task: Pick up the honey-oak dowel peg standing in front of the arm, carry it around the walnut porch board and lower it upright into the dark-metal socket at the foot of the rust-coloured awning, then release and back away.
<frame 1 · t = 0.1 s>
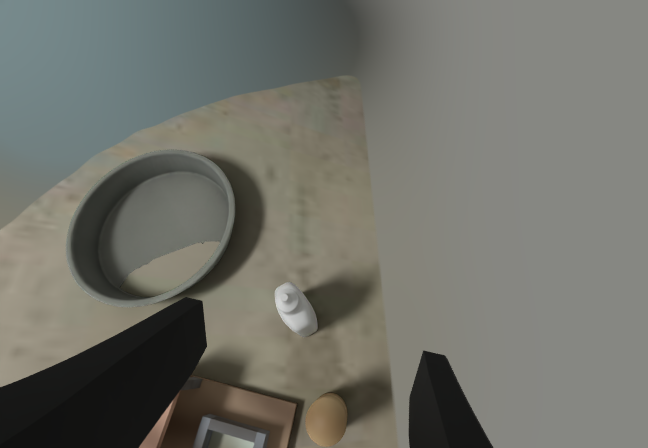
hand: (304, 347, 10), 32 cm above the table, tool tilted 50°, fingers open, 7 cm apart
porch: (218, 443, 36), on the table
cake pan: (167, 231, 49), on the table
peg: (330, 412, 37), on the table
eye dropper bottle: (302, 315, 42), on the table
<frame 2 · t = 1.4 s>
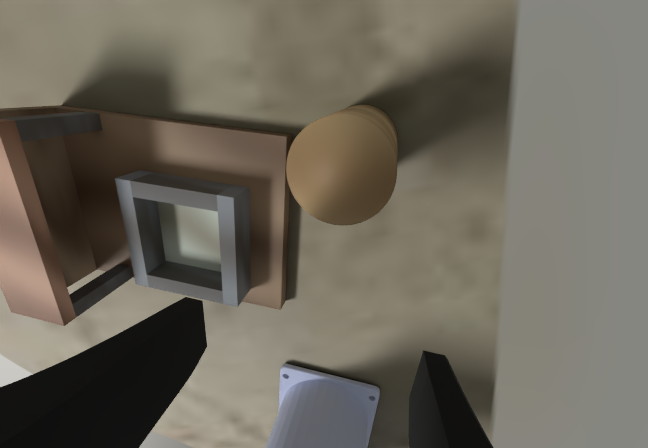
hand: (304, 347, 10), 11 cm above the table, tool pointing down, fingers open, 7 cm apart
porch: (178, 208, 22), on the table
peg: (360, 142, 17), on the table
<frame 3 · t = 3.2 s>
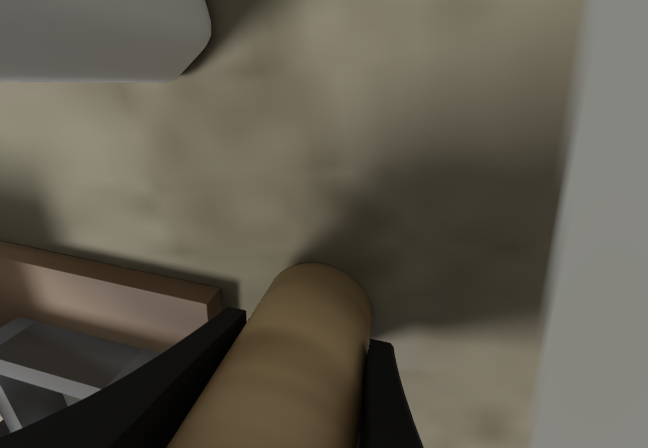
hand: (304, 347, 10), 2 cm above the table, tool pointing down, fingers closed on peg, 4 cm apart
porch: (84, 352, 16), on the table
peg: (318, 309, 12), on the table, touching gripper
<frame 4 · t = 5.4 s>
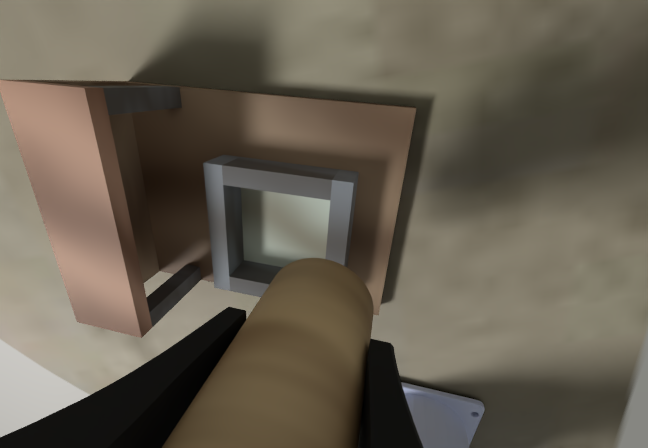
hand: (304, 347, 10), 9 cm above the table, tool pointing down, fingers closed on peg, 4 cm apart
porch: (261, 200, 19), on the table
peg: (320, 304, 12), point 7 cm above the table, touching gripper
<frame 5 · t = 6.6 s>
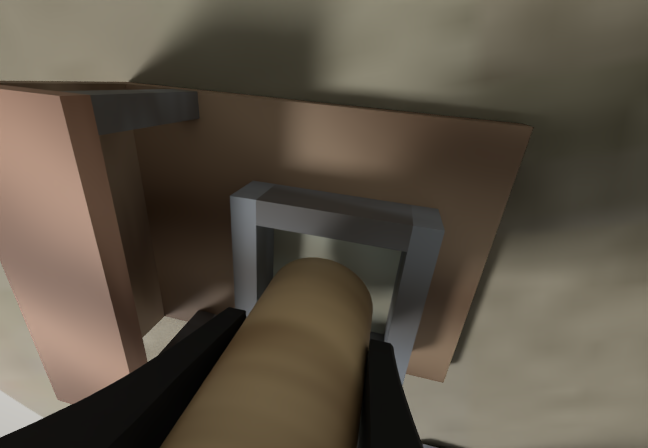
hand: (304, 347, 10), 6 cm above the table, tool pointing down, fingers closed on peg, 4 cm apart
porch: (297, 235, 15), on the table
peg: (319, 304, 12), point 3 cm above the table, touching gripper
when the fingers open (4 cm above the table, at t = 7.4 s): peg stays where it is, resting on porch.
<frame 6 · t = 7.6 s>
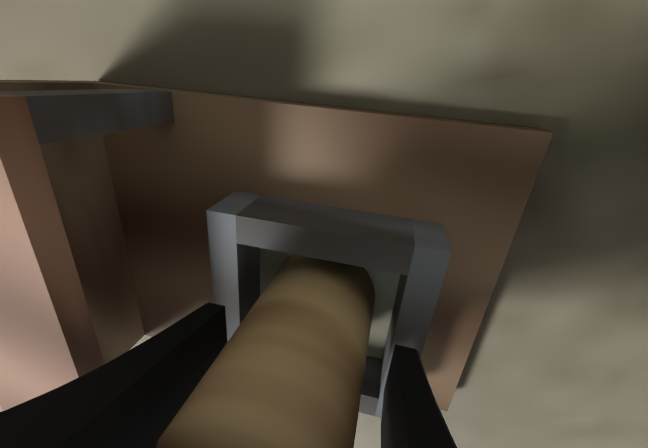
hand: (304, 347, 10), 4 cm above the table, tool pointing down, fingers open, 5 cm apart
porch: (286, 250, 14), on the table
peg: (324, 291, 13), point 1 cm above the table, touching porch
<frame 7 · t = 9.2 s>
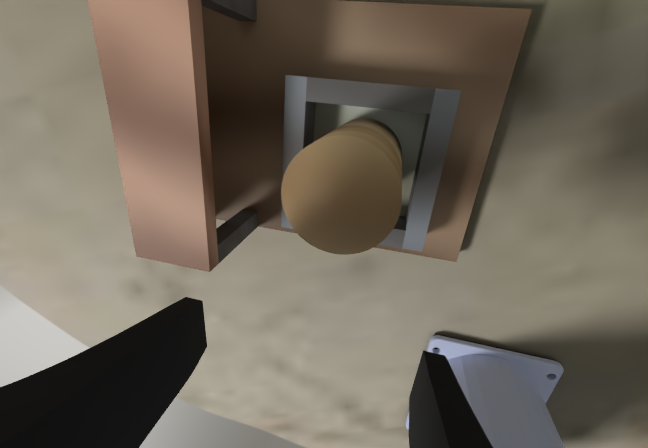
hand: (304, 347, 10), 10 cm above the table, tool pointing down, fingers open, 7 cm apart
porch: (331, 134, 17), on the table
peg: (363, 157, 17), point 1 cm above the table, touching porch
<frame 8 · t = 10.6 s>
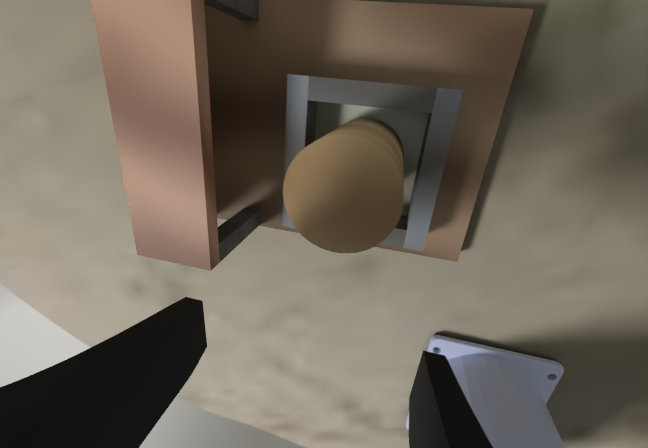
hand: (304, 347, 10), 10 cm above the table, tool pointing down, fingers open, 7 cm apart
porch: (333, 133, 18), on the table
peg: (364, 157, 17), point 1 cm above the table, touching porch
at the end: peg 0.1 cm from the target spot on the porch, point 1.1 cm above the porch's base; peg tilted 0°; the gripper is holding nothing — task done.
